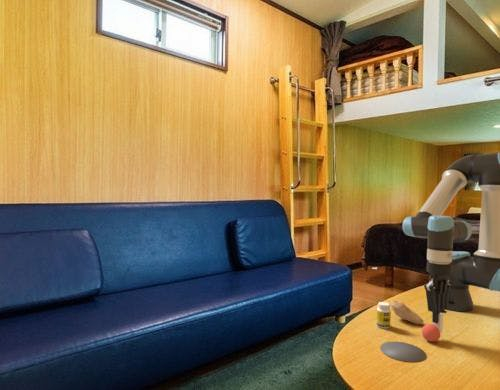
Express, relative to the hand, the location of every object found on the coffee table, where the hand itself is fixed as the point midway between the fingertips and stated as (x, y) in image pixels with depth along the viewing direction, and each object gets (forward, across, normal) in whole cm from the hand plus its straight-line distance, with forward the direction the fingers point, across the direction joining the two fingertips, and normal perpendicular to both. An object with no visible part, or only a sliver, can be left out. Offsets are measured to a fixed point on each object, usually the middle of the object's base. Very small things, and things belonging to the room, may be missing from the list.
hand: (437, 331), depth 119 cm
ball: (0, -4, 0) cm, 4 cm away
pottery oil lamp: (+3, +5, +15) cm, 16 cm away
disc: (+3, -18, 0) cm, 18 cm away
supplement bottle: (+3, -7, +16) cm, 18 cm away
